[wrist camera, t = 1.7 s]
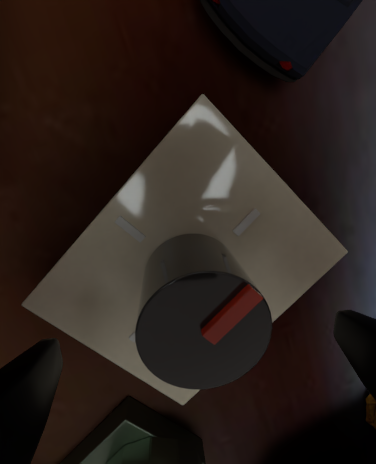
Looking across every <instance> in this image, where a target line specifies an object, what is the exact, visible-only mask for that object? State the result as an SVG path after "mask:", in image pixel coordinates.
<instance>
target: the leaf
mask: <svg viewBox="0 0 376 464" xmlns="http://www.w3.org/2000/svg"><path fill="white" fill-rule="evenodd" d="M366 402H367V406H366V414H367V415H366V421H367V422H368V423H369V424H370V425H372V426H373V427H374V428H375V429H376V401H375V399H374V398H373V397H372V395H371V394H370V395H369V396H368V398H366Z"/></svg>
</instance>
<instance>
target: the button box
mask: <svg viewBox="0 0 376 464" xmlns="http://www.w3.org/2000/svg"><path fill="white" fill-rule="evenodd" d="M60 464H206V463H205V456H204V449H203V443H202V439H200V438H199V437H197V436H195V435H194V434H192V433H190V432H189V431H187V430H185V429H183V428H182V427H180V426H178V425H177V424H175V423H173V422H172V421H170V420H168V419H166V418H165V417H163V416H161V415H160V414H158V413H156V412H155V411H153V410H151V409H150V408H148V407H146V406H144V405H143V404H141V403H139V402H138V401H136V400H134V399H133V398H131V397H127V398H126V399H125V400H124V401H123V402H122V403H121V404H120V405H119V406H118V407H117V408H116V409H115V410H114V411H113V412H112V413H111V414H110V415H109V416H108V417H107V418H106V419H105V420H104V421H103V422H102V423H101V424H100V425H99V426H98V427H97V428H96V429H95V430H94V431H93V432H92V433H91V434H90V435H89V436H88V437H87V438H86V439H85V440H84V441H83V442H82V443H81V444H80V445H78V446H77V447H76V448H75V449H74V450H73V451H72V452H71V453H70V454H69V455H68V456H67V457H66V458H65V459H64V460H63V461H62V462H61V463H60Z"/></svg>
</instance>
